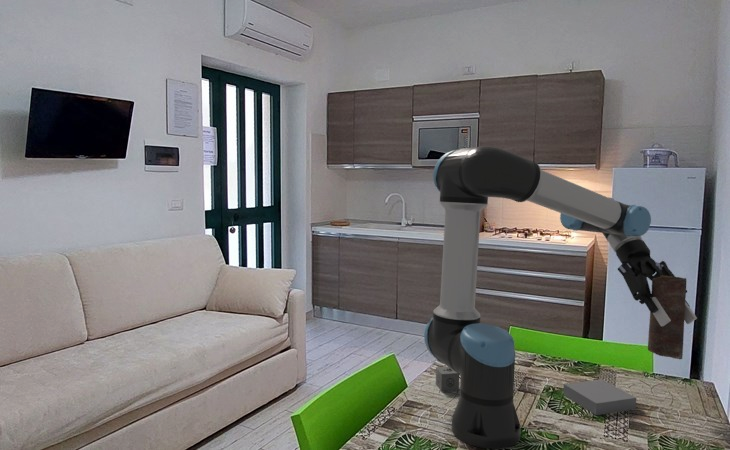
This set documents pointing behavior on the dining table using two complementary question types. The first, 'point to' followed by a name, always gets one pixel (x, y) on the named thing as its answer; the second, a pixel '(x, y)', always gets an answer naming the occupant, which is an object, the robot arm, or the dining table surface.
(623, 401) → the stand
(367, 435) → the dining table surface
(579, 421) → the dining table surface
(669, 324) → the candle
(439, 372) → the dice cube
